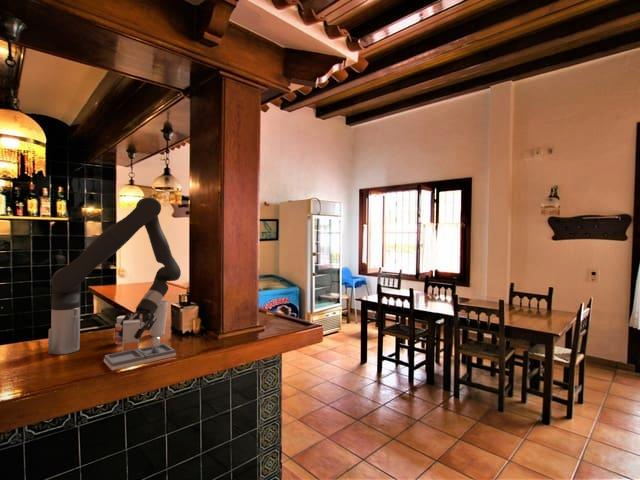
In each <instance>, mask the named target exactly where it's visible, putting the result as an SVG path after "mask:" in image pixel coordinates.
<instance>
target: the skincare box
mask: <svg viewBox="0 0 640 480" xmlns="http://www.w3.org/2000/svg"><path fill="white" fill-rule="evenodd" d="M138 329H140V320H139V319H137V320H125V321H123V343H122V345H121V346H122V350H121V352H124V351H129V350H134V349H136V350H137V349H139V348H140V338H139V339H135V338H134V336H135V334H136V332H137V331H138Z"/></svg>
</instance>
